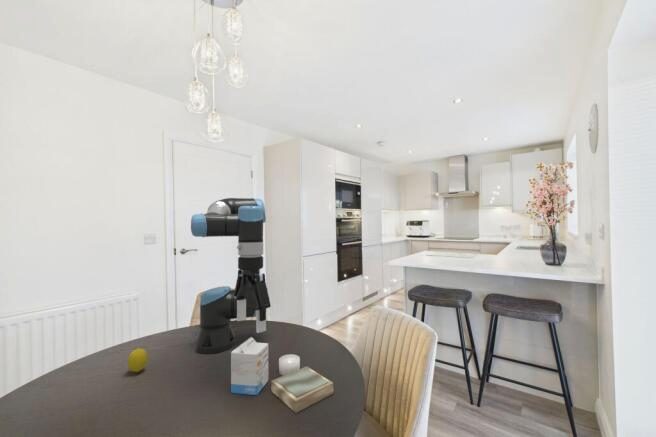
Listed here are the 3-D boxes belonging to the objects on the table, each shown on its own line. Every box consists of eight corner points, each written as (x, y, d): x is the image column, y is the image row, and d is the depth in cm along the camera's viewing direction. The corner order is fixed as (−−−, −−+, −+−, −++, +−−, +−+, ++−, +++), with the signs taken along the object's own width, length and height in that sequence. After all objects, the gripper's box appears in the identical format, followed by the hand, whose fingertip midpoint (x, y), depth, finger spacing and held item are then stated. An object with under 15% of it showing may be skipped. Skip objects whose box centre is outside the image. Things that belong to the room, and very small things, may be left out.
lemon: (150, 370, 95) (151, 346, 96) (133, 378, 90) (134, 353, 91) (140, 366, 98) (141, 343, 98) (123, 374, 93) (124, 350, 93)
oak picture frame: (271, 391, 82) (271, 379, 82) (306, 375, 91) (306, 365, 91) (295, 413, 72) (295, 400, 73) (333, 393, 81) (333, 382, 81)
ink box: (256, 396, 80) (256, 348, 80) (230, 393, 82) (230, 346, 82) (269, 380, 88) (268, 337, 89) (244, 377, 90) (244, 335, 91)
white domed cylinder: (275, 370, 95) (275, 358, 95) (292, 363, 99) (292, 352, 99) (286, 378, 89) (286, 366, 89) (304, 371, 94) (303, 359, 94)
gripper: (223, 254, 93) (223, 318, 93) (258, 260, 74) (258, 340, 74) (245, 252, 98) (245, 313, 98) (282, 258, 79) (282, 333, 79)
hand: (250, 325), depth 86 cm, fingers open, 13 cm apart
